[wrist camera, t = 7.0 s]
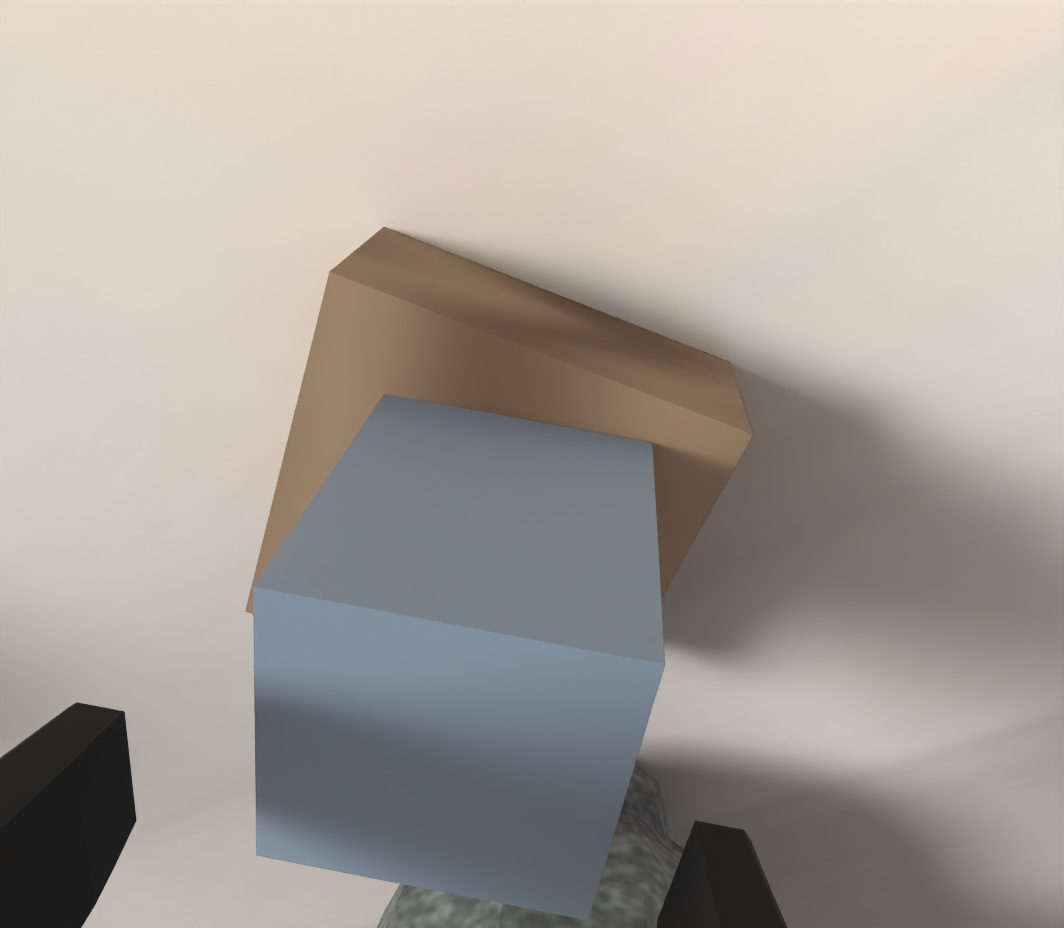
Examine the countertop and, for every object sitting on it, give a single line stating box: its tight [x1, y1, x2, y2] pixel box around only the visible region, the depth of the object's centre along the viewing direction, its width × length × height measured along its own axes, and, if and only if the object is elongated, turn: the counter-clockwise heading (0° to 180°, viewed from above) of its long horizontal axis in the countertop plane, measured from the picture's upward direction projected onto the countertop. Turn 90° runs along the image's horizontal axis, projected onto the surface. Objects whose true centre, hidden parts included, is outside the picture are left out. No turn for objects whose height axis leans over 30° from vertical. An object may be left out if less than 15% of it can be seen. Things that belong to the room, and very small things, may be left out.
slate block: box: [253, 394, 665, 920], centre depth 14 cm, size 5×5×6 cm
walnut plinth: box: [246, 227, 753, 614], centre depth 18 cm, size 8×8×4 cm
